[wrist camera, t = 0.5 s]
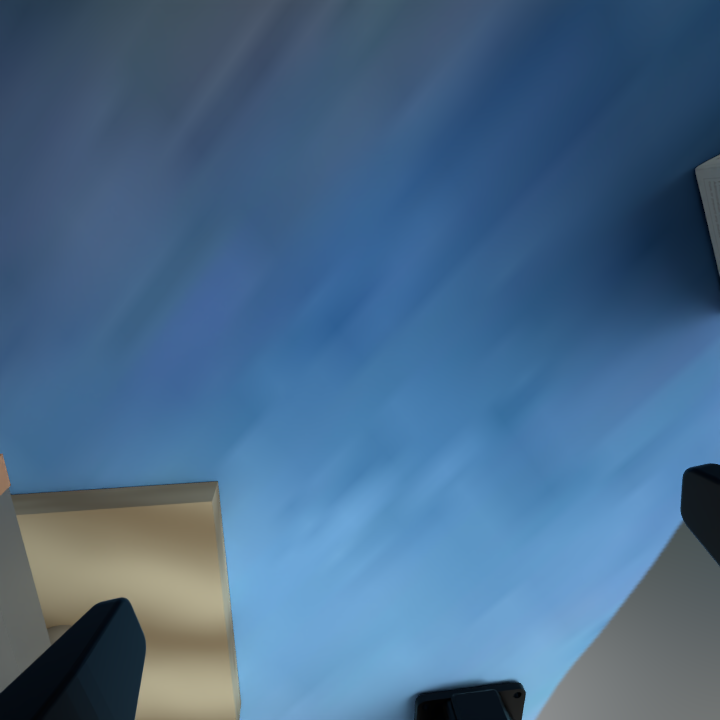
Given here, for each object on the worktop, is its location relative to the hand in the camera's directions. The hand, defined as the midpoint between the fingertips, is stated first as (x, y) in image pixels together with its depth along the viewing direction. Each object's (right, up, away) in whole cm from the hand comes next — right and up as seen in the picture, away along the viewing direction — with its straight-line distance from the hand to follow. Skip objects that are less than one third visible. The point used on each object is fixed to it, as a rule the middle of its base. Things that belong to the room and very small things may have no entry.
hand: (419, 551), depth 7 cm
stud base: (-14, -9, +15) cm, 23 cm away
